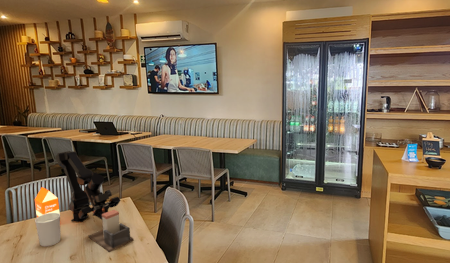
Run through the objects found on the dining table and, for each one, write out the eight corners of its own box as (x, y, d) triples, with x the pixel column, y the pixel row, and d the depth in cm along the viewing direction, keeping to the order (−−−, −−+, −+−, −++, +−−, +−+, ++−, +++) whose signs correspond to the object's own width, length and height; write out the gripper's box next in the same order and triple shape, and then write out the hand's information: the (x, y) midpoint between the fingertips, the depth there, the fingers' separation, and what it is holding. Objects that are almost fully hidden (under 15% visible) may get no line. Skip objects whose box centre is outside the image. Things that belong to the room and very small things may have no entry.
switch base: (88, 237, 134) (87, 223, 133) (112, 227, 143) (111, 214, 142) (109, 252, 122) (108, 237, 121) (133, 240, 131) (132, 226, 130)
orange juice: (44, 230, 140) (40, 192, 137) (37, 225, 146) (33, 188, 142) (61, 224, 146) (57, 188, 143) (53, 219, 152) (49, 184, 148)
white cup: (34, 249, 125) (31, 224, 123) (42, 237, 134) (39, 214, 132) (59, 245, 127) (56, 221, 125) (65, 234, 137) (62, 211, 135)
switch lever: (103, 238, 131) (101, 214, 129) (115, 233, 135) (114, 209, 133) (108, 241, 128) (106, 216, 126) (120, 235, 133) (118, 212, 131)
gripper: (78, 192, 126) (92, 222, 121) (117, 181, 140) (131, 207, 135) (72, 204, 132) (85, 233, 127) (110, 192, 147) (123, 218, 142)
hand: (107, 222), depth 133 cm, fingers closed
